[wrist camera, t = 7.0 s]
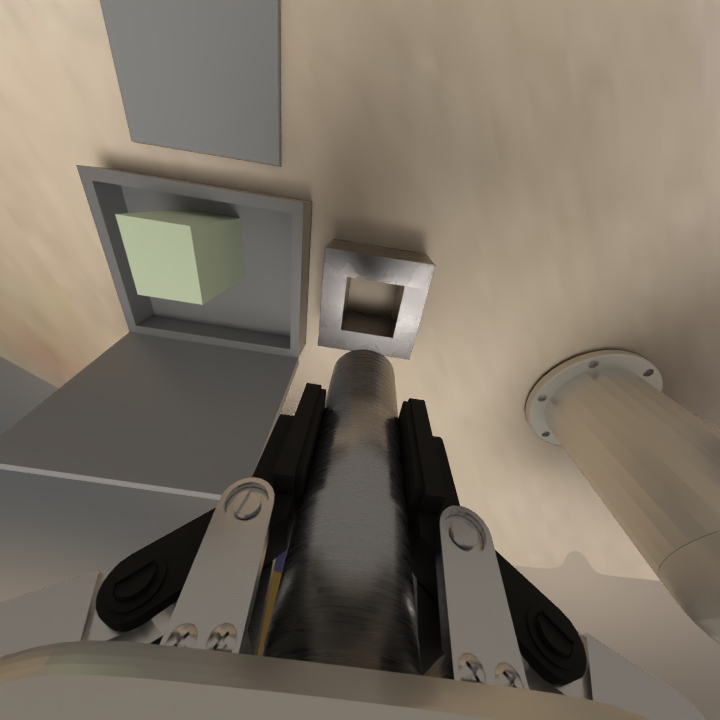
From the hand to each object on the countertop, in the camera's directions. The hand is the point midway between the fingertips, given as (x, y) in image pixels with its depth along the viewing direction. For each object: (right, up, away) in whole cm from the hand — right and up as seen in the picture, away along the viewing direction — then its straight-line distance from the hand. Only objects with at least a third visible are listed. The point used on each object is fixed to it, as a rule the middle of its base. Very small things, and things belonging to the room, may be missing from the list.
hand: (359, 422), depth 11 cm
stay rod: (0, +2, +3) cm, 3 cm away
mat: (-11, +22, +8) cm, 26 cm away
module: (-12, +12, +13) cm, 22 cm away
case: (-13, +11, +15) cm, 22 cm away
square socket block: (+1, +9, +15) cm, 17 cm away
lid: (-14, 0, +10) cm, 18 cm away
